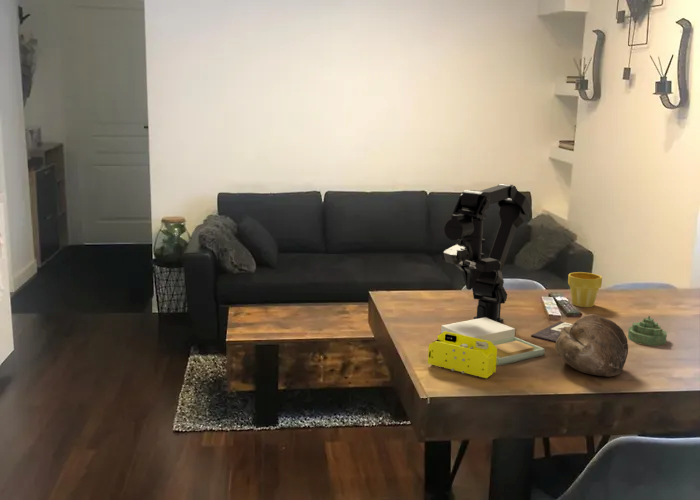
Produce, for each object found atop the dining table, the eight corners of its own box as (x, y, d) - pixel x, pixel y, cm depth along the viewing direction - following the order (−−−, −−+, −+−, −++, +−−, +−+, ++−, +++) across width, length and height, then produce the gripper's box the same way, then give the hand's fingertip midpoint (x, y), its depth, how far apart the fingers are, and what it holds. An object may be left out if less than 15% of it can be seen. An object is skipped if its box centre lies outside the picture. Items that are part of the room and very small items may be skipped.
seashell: (575, 350, 177) (594, 298, 184) (534, 362, 192) (553, 314, 199) (627, 385, 180) (644, 333, 186) (582, 395, 194) (600, 346, 201)
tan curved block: (533, 347, 197) (533, 354, 197) (517, 340, 202) (516, 347, 202) (508, 353, 192) (507, 360, 192) (491, 346, 197) (491, 353, 197)
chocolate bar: (531, 335, 213) (560, 321, 226) (531, 338, 213) (560, 324, 226) (561, 342, 207) (589, 327, 221) (560, 345, 207) (588, 331, 221)
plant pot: (572, 298, 253) (575, 270, 251) (603, 304, 247) (606, 275, 245) (561, 305, 245) (563, 275, 243) (593, 311, 239) (596, 281, 237)
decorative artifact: (627, 332, 219) (627, 343, 210) (630, 309, 218) (630, 318, 209) (665, 337, 216) (666, 347, 207) (667, 313, 214) (669, 323, 205)
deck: (484, 330, 217) (485, 317, 217) (514, 342, 208) (515, 328, 207) (440, 339, 209) (441, 325, 208) (469, 352, 199) (470, 337, 198)
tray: (514, 342, 208) (514, 336, 207) (544, 354, 198) (544, 348, 198) (469, 352, 199) (470, 346, 199) (498, 365, 190) (499, 359, 190)
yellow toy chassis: (496, 374, 184) (498, 342, 182) (486, 382, 180) (488, 348, 178) (437, 360, 193) (439, 329, 191) (426, 366, 189) (428, 334, 187)
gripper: (428, 232, 215) (426, 285, 219) (472, 244, 200) (469, 301, 203) (458, 229, 221) (456, 280, 225) (503, 240, 206) (500, 295, 209)
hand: (469, 289), depth 215 cm, fingers closed
